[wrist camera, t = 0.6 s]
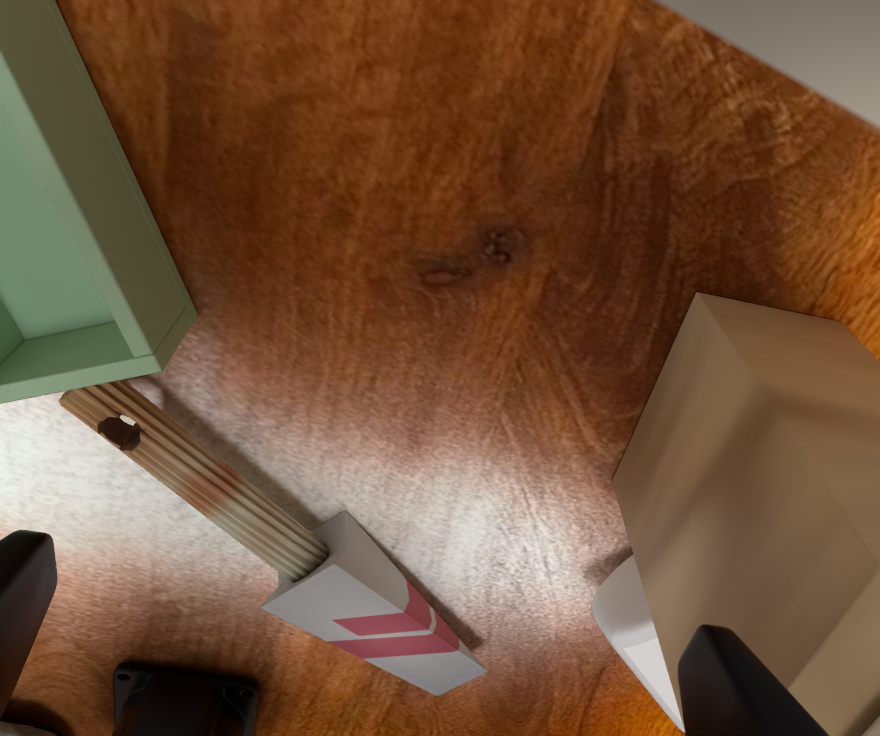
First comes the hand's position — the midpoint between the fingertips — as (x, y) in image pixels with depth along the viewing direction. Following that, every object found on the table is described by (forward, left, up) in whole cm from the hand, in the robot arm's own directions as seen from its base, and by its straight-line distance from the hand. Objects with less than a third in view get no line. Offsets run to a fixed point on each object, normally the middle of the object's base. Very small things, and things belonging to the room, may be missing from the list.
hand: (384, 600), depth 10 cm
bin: (-1, +12, -14) cm, 18 cm away
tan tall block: (-4, -11, -14) cm, 18 cm away
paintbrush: (-13, +2, -11) cm, 17 cm away
